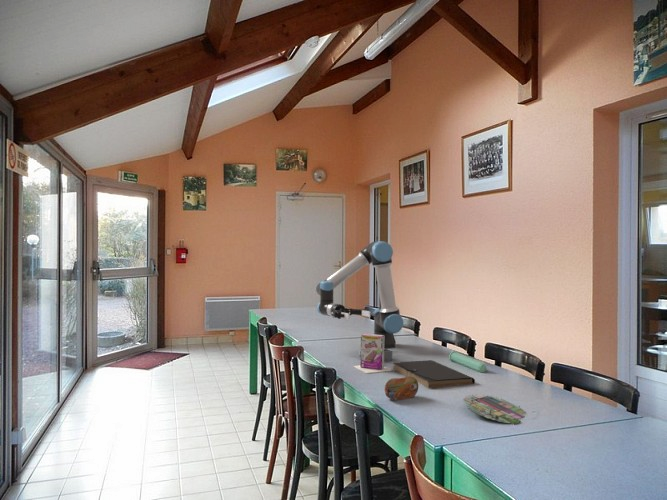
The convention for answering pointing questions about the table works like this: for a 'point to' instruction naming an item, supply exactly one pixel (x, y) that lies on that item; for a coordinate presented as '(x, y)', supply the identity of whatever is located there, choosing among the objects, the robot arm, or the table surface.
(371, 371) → the paper sheet
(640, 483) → the table surface
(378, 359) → the candy bar box
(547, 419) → the table surface
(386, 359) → the button housing
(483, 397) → the city model
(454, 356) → the container
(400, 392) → the tin
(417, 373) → the dark brown book
